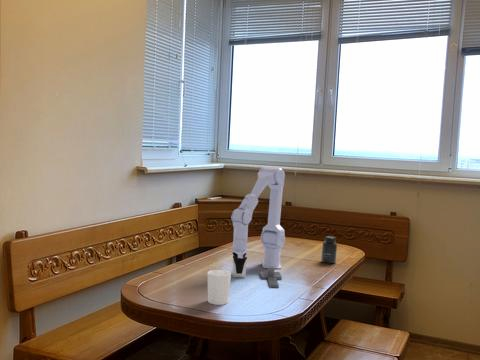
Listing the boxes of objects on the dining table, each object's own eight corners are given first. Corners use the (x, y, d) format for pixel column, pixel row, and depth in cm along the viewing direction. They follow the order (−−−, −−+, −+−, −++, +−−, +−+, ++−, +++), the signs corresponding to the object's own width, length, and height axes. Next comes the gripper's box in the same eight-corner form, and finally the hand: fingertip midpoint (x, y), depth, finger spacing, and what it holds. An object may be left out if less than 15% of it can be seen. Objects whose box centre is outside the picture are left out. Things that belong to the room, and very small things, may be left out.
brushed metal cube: (232, 273, 203) (232, 259, 202) (244, 274, 203) (245, 259, 202) (232, 277, 197) (233, 262, 197) (245, 277, 198) (246, 262, 197)
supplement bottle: (325, 264, 226) (326, 238, 225) (318, 260, 233) (320, 235, 232) (338, 263, 228) (340, 238, 227) (332, 260, 235) (333, 235, 234)
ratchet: (260, 274, 204) (260, 264, 204) (279, 274, 205) (279, 264, 204) (263, 287, 185) (264, 276, 185) (284, 287, 186) (285, 276, 185)
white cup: (229, 298, 170) (230, 270, 169) (229, 306, 162) (231, 276, 161) (206, 297, 170) (207, 269, 169) (205, 305, 162) (207, 275, 161)
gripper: (230, 234, 206) (228, 266, 207) (230, 241, 192) (229, 276, 193) (247, 235, 206) (245, 267, 207) (248, 242, 192) (247, 276, 193)
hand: (238, 271), depth 200 cm, fingers closed on brushed metal cube, 5 cm apart
